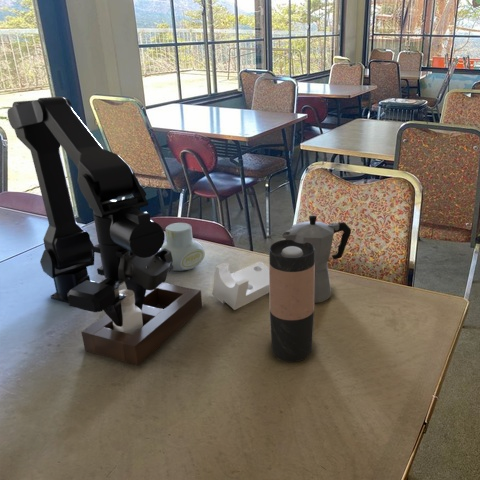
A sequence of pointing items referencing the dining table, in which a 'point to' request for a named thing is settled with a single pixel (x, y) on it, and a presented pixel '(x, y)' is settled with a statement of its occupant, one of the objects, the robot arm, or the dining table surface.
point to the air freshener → (183, 247)
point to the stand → (145, 325)
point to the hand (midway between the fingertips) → (129, 318)
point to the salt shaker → (129, 314)
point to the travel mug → (291, 299)
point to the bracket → (240, 284)
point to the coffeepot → (320, 249)
